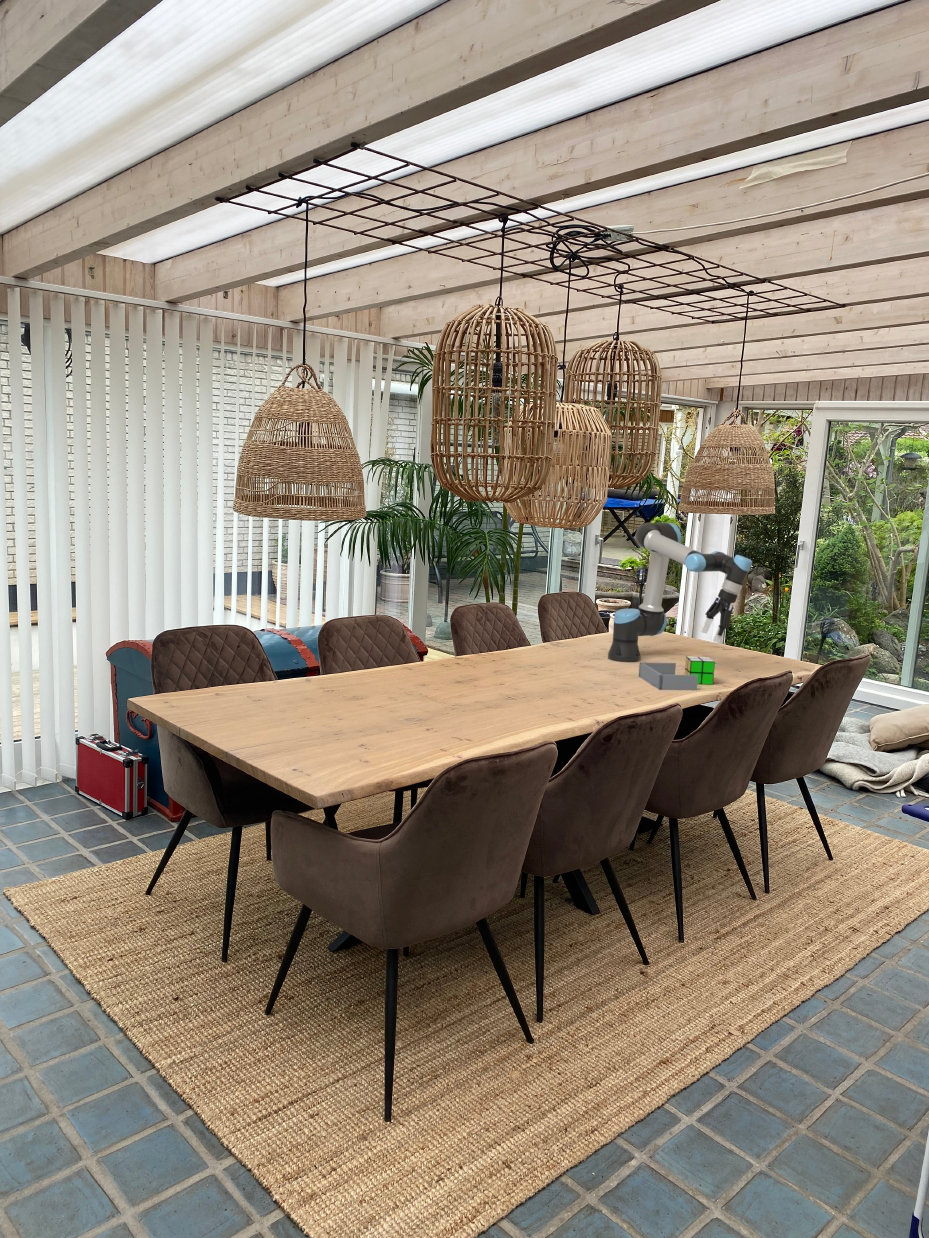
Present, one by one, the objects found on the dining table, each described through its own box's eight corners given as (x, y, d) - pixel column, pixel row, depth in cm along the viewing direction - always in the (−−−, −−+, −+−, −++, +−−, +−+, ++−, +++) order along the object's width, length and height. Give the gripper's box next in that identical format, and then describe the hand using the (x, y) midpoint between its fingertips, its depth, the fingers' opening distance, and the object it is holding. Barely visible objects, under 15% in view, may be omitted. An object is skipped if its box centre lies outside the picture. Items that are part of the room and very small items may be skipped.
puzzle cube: (707, 680, 379) (709, 657, 378) (713, 685, 369) (715, 661, 368) (683, 679, 380) (685, 656, 378) (689, 684, 370) (690, 660, 368)
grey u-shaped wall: (638, 676, 381) (639, 662, 380) (673, 676, 383) (674, 662, 382) (659, 689, 356) (660, 675, 355) (696, 690, 358) (697, 675, 358)
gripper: (749, 601, 364) (728, 648, 369) (726, 587, 388) (706, 631, 393) (733, 595, 363) (712, 643, 368) (711, 581, 387) (691, 626, 391)
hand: (709, 637), depth 380 cm, fingers open, 13 cm apart
